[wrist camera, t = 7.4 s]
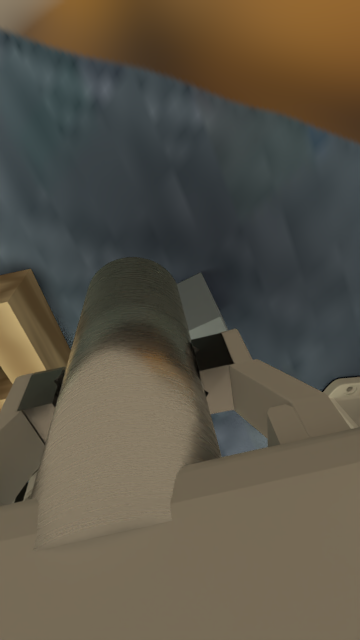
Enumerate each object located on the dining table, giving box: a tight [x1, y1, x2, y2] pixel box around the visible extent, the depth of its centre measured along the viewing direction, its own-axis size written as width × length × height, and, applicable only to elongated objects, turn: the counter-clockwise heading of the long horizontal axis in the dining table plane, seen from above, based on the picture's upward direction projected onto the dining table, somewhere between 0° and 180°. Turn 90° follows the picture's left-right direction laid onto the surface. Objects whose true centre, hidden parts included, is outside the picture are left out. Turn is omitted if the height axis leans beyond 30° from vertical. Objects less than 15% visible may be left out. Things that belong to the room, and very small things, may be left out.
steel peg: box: [30, 257, 221, 551], centre depth 10 cm, size 4×4×10 cm
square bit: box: [177, 273, 228, 339], centre depth 28 cm, size 5×5×8 cm
